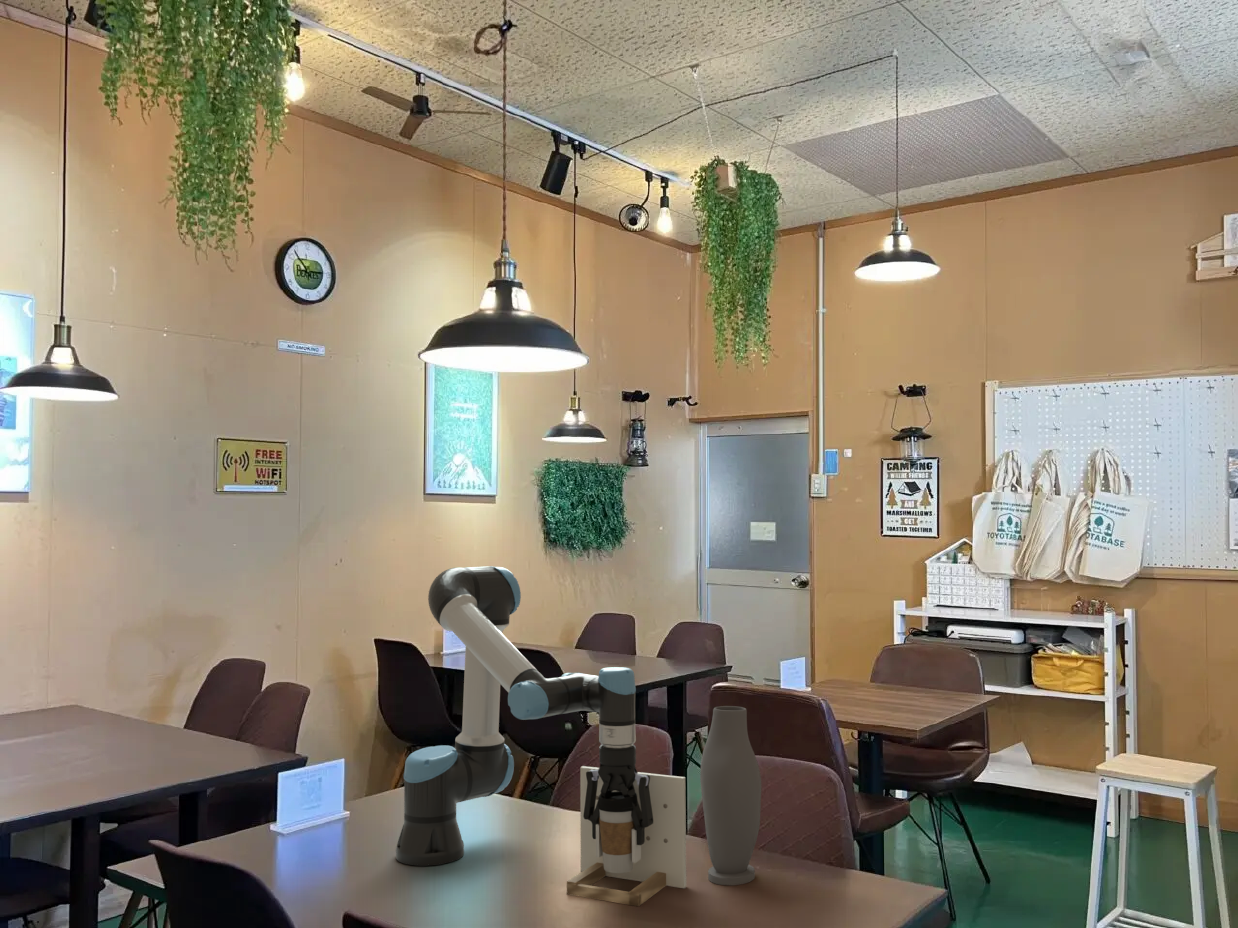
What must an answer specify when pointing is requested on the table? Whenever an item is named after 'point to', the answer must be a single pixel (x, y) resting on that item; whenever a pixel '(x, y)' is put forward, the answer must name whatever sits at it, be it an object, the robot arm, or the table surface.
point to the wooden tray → (635, 897)
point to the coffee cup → (616, 831)
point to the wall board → (648, 831)
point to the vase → (730, 797)
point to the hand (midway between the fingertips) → (618, 857)
